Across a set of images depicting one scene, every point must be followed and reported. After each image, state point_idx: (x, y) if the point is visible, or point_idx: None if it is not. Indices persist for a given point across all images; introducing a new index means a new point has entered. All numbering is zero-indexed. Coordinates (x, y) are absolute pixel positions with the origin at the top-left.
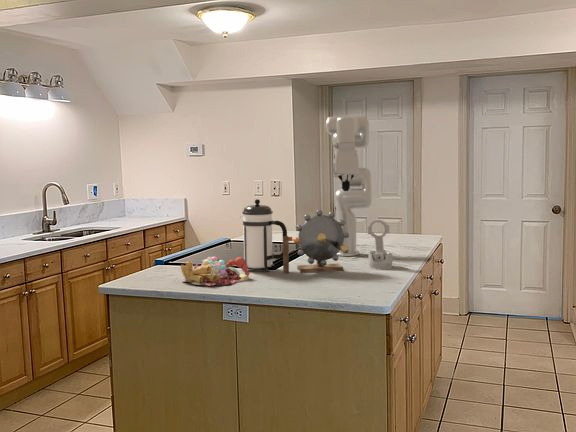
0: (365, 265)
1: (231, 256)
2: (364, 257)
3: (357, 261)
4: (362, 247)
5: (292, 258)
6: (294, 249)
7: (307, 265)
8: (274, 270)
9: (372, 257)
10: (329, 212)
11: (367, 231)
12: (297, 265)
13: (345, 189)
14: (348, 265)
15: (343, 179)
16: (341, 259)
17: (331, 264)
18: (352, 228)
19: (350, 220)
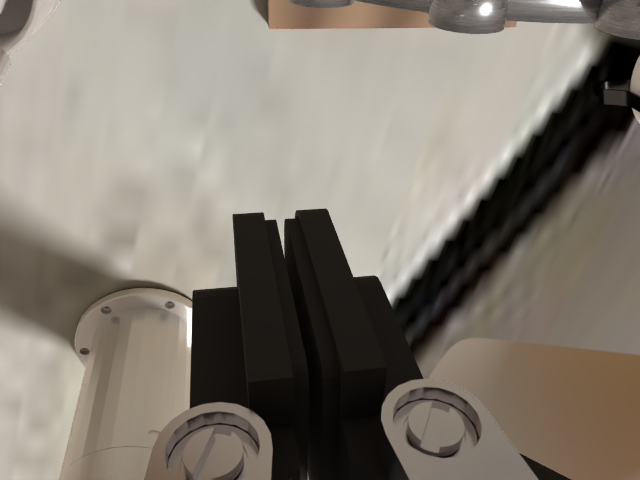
0: (82, 28)
1: (631, 343)
2: (59, 254)
3: (117, 158)
4: (42, 459)
5: (426, 279)
6: None
7: None
8: None
9: (19, 32)
10: (502, 19)
11: (4, 67)
12: (514, 25)
13: (318, 223)
14: (193, 54)
15: (452, 457)
16: (199, 224)
17: None
18: (98, 420)
19: (104, 464)
